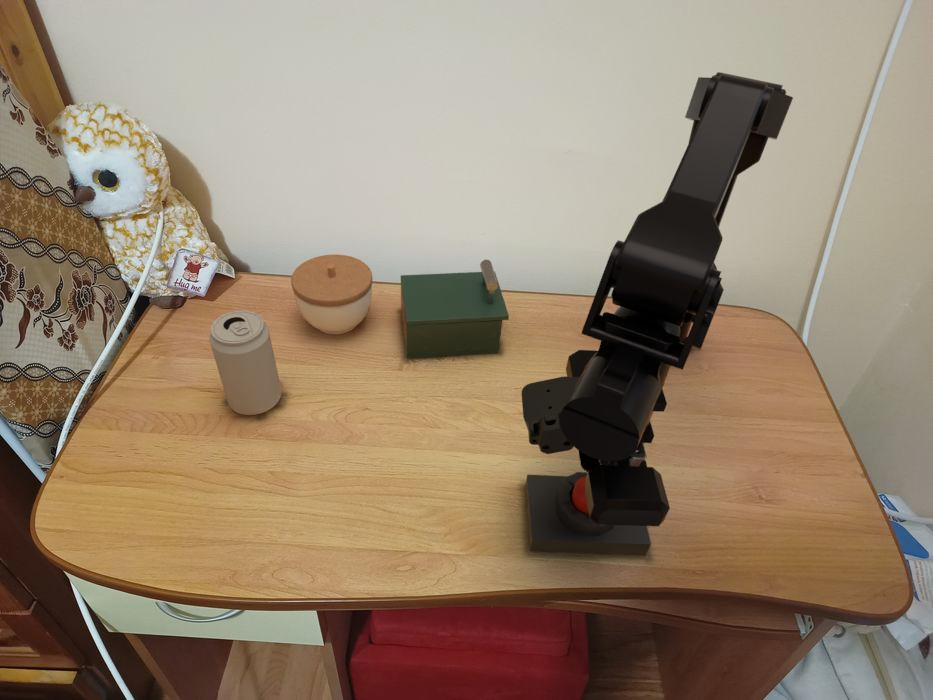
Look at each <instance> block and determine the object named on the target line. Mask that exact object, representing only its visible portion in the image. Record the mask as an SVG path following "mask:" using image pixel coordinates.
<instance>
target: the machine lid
mask: <svg viewBox="0 0 933 700" xmlns="http://www.w3.org/2000/svg"><path fill="white" fill-rule="evenodd" d="M479 267H480V270H481V271H472V272H471V271H469V272H449V273H447V272H446V273H426V274H425V273H424V274H423V273H422V274H421V273H420V274H403V275H402V274H401V275H400V287H401V286H402V294H403V302H404V310H405V319H406V325H421V324H440V323H458V322H477V321H495V320H502V321H508V320H509V317H510V315H509V313H508V309H507V305H506V303H505V299H504V296H503V293H502V290H501V287H500V283H499V280H498V276H497V273H496V271H495V270H494V267H493V263H492V261H491V260H489V259H483V260H482V261H480V264H479Z"/></svg>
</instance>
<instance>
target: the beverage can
mask: <svg viewBox="0 0 933 700" xmlns="http://www.w3.org/2000/svg"><path fill="white" fill-rule="evenodd" d="M209 343H210V347H211V351H212V354H213V358H214V361H215V365H216V367H217V371H218V375H219V377H220V382H221V384H222V388H223V392H224V395H225V397H226V402H227V404H228V406H229V408H230V409H231V410H232V411H234V412H236V413H238V414H240V415H245V416H253V415H261V414H263V413H266V412H268V411H270V410H272V408H274V407H275V406H276V405H277V404H278V402H279V401H280V400H281V397H282V387H281V382H280V377H279V372H278V368H277V362H276V357H275V354H274V348H273V343H272V338H271V332H270V328H269V326H268V325H267V323H266V322H265V321H264V318H263V317H262V316H261V315H260V314H258V313H257V312H254V311H251V310H242V309H241V310H233V311H229V312H226V313H224V314H222V315H219V316H218V317H217V318H216V319H215V320H214V321H213V322H212V324H211V326H210V334H209Z"/></svg>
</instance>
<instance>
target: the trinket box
mask: <svg viewBox="0 0 933 700" xmlns="http://www.w3.org/2000/svg"><path fill="white" fill-rule="evenodd" d="M373 280H374V279H373V271H372V270H371V268H370V267H369V265H367V264H366V263H365V262H364V261H362V260H361V259H359V258H357V257H353V256H351V255H345V254H324V255H319V256H315V257H312V258H310V259H308V260H305V261H304V262H302V263H301V264H300V265H298V266H297V267H296V268H295V269H294V270H293V273H292V274H291V278H290V284H291V288H292V291H293V295H294V300H295V303H296V306H297V308H298V311H299V314H300V315H301V316H302V318H303V319H304V320H305V321H306V322H307V323H308V324H309V325H310V326H312V327H313V328H315V329H317V330H318V331H320V332H322V333H324V334H327V335H342V334H347V333H349V332H351V331H353V330H354V329H355V328H356V327H357V326H358V325H359V324H361V322H363V320H364V319H365V317H366V316H367V315H368V313H369V310H370V307H371V304H372V299H373V297H372V296H373Z"/></svg>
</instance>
